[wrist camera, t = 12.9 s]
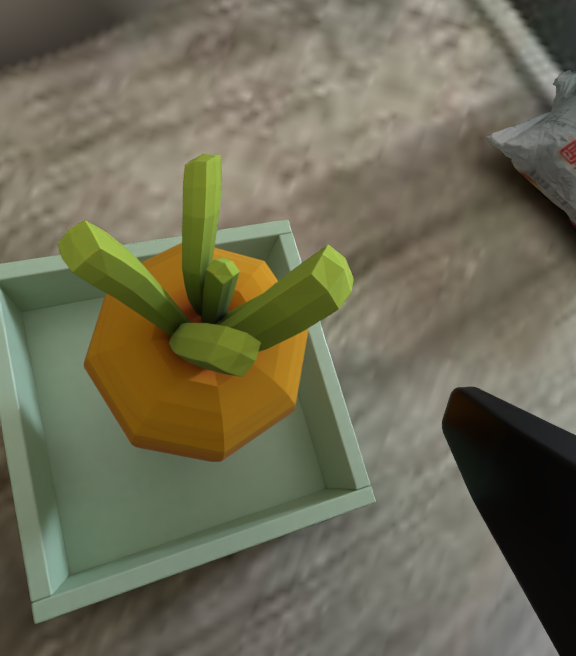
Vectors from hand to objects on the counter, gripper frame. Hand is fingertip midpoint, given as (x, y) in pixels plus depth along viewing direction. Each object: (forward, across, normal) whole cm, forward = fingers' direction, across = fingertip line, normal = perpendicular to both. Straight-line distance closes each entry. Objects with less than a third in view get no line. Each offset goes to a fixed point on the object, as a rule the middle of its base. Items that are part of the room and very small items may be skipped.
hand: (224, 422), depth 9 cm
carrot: (+10, 0, +7) cm, 12 cm away
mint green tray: (+10, 0, +8) cm, 13 cm away
